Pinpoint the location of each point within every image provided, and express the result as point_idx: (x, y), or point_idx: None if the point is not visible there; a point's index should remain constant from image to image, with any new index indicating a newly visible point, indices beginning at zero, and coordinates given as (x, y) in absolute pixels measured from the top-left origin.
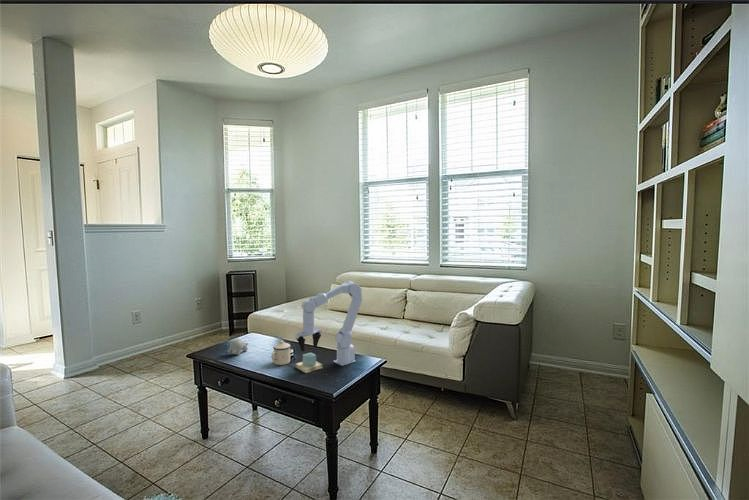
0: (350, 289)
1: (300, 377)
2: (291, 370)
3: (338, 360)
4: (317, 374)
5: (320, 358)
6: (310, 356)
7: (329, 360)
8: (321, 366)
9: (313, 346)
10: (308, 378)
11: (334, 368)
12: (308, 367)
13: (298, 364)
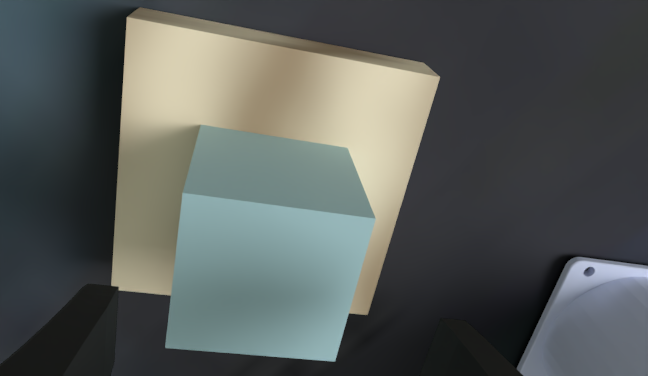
0: None
1: (5, 296)
2: (26, 46)
3: (559, 357)
4: (199, 360)
5: (611, 41)
6: (224, 348)
7: (594, 187)
8: None
9: (446, 321)
10: None
11: None
12: None
13: (142, 84)
